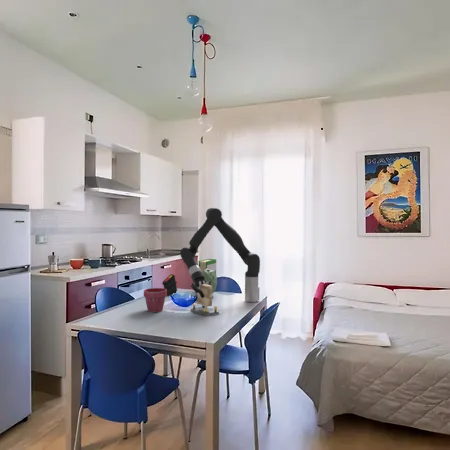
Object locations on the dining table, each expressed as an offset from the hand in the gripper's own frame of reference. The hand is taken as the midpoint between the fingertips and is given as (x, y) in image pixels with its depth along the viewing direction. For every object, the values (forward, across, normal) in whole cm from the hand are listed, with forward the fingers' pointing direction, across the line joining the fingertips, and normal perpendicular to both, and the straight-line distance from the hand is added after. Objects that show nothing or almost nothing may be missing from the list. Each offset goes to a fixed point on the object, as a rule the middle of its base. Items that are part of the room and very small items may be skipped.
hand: (206, 296), depth 218 cm
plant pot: (-9, -23, +24) cm, 34 cm away
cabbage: (-22, +26, +36) cm, 50 cm away
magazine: (-35, +6, +50) cm, 61 cm away
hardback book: (-36, +41, +51) cm, 75 cm away
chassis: (+6, 0, +8) cm, 10 cm away
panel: (+2, 0, +5) cm, 5 cm away
